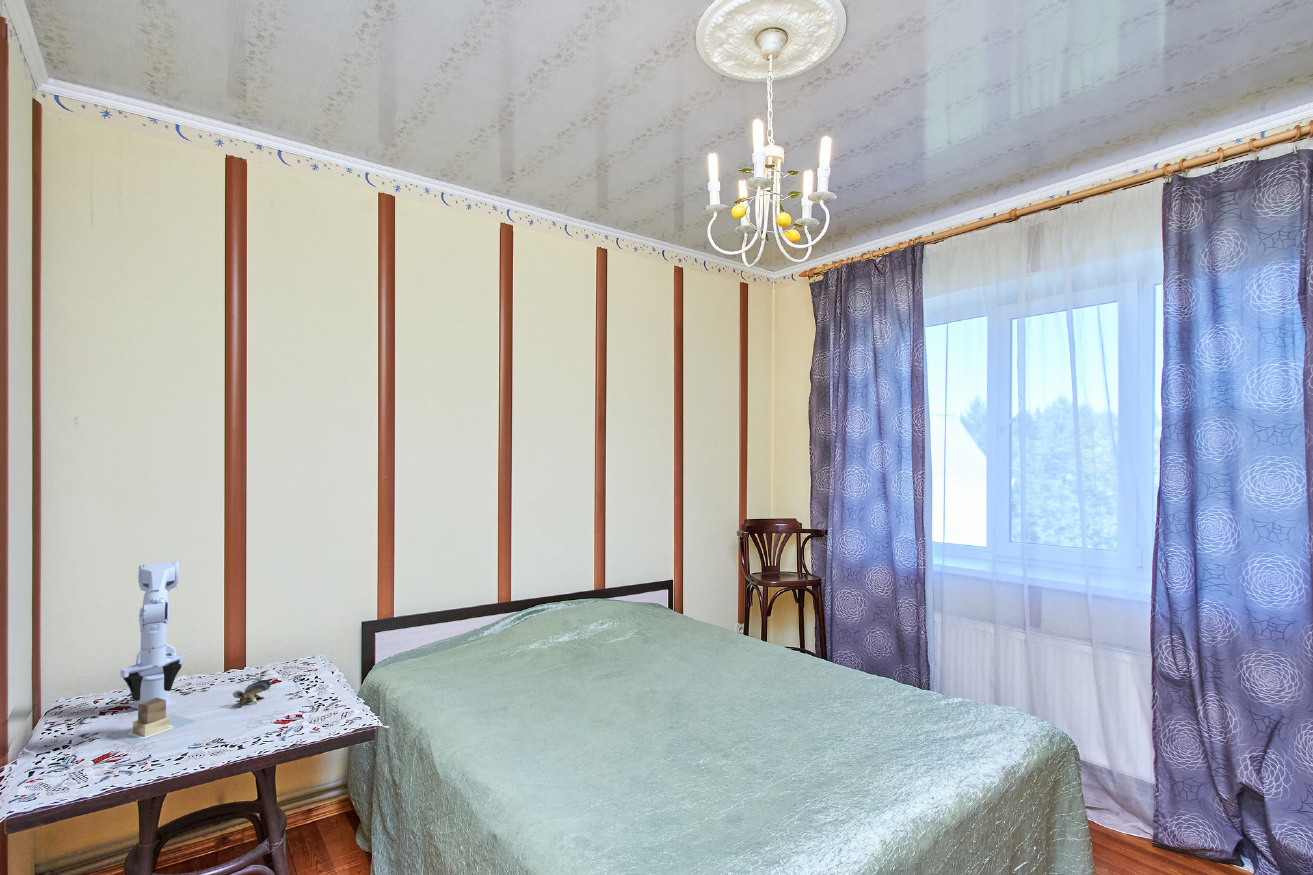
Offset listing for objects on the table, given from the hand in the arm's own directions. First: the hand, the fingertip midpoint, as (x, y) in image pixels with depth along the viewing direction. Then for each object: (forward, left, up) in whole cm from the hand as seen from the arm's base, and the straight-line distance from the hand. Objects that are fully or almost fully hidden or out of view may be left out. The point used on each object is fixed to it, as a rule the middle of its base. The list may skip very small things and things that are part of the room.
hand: (152, 695), depth 175 cm
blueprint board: (-1, +1, -10) cm, 10 cm away
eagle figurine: (+5, +25, -10) cm, 27 cm away
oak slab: (0, 0, -10) cm, 10 cm away
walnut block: (0, 0, -7) cm, 7 cm away
